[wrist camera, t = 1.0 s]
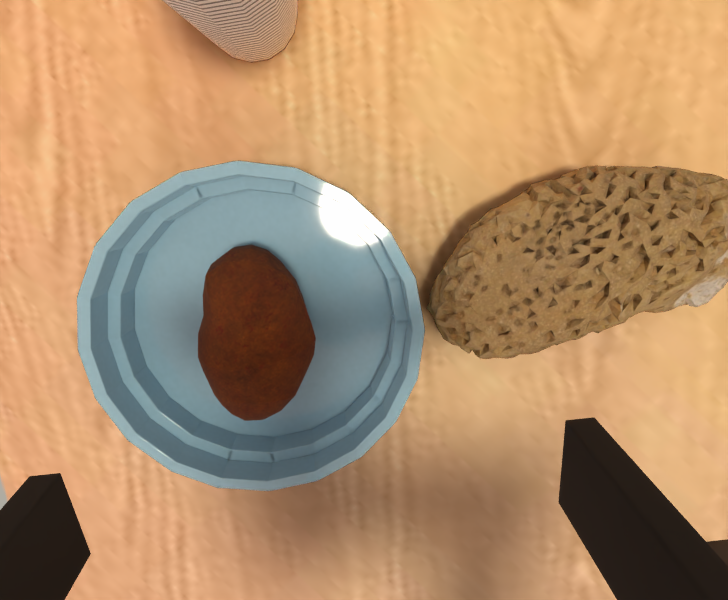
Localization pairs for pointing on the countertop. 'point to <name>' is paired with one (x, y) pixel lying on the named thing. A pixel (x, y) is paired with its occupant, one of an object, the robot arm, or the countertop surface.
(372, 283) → the bowl
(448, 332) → the sponge
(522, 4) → the countertop surface
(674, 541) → the robot arm
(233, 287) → the potato
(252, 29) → the cup
